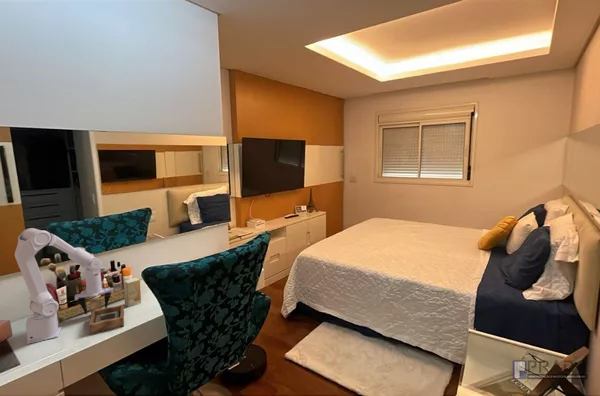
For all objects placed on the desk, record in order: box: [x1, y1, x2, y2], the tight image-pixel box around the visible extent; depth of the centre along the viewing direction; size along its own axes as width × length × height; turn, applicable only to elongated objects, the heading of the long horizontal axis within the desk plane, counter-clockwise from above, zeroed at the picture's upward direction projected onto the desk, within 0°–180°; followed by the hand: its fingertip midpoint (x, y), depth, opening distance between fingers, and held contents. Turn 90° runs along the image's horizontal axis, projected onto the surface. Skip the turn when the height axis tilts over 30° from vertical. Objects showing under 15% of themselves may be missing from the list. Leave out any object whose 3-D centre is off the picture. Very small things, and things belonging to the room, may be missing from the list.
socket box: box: [88, 304, 125, 335], centre depth 133 cm, size 12×14×4 cm
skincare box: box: [123, 277, 142, 308], centre depth 150 cm, size 6×4×12 cm
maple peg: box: [89, 298, 102, 315], centre depth 139 cm, size 4×4×7 cm
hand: (96, 310), depth 140 cm, fingers open, 7 cm apart
